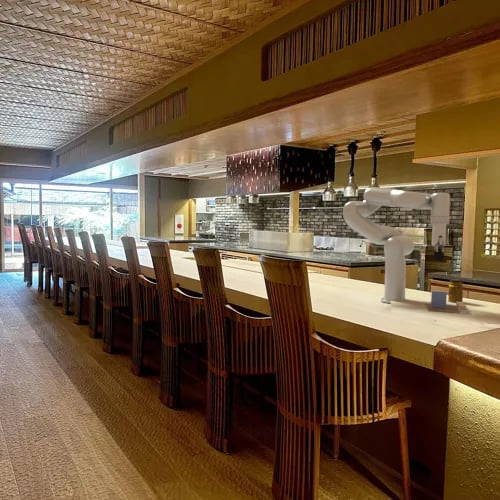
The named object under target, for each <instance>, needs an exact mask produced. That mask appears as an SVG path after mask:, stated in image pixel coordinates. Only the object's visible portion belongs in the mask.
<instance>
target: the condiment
mask: <svg viewBox="0 0 500 500" xmlns="http://www.w3.org/2000/svg"><path fill="white" fill-rule="evenodd" d="M463 292H464V286H463V280H462V279H457V278H456V279H455V278H452V279H451V278H450V279H449V284H448V294H447V295H448V297H447V299H448V303H452V304H456V302H463V299H464V297H463V296H464V295H463V294H464V293H463Z"/></svg>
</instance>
